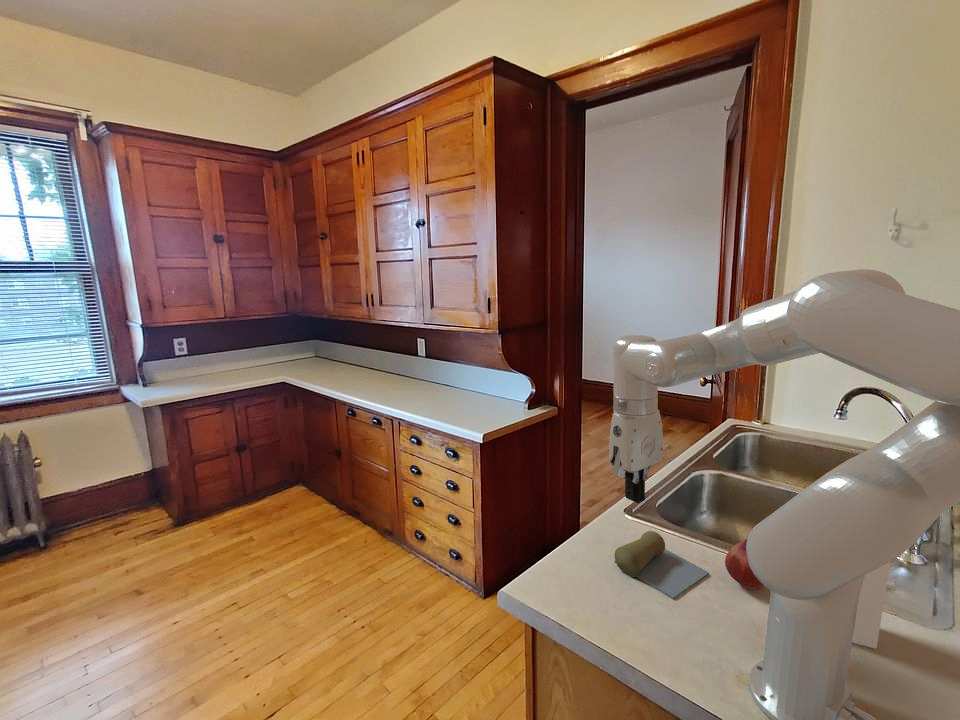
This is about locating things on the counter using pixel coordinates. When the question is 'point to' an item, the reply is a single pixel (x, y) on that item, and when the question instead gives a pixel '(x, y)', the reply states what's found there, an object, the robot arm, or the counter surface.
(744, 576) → the fruit
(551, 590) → the counter surface
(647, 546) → the olive brown rounded cylinder
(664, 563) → the grey mat
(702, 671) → the counter surface
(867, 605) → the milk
